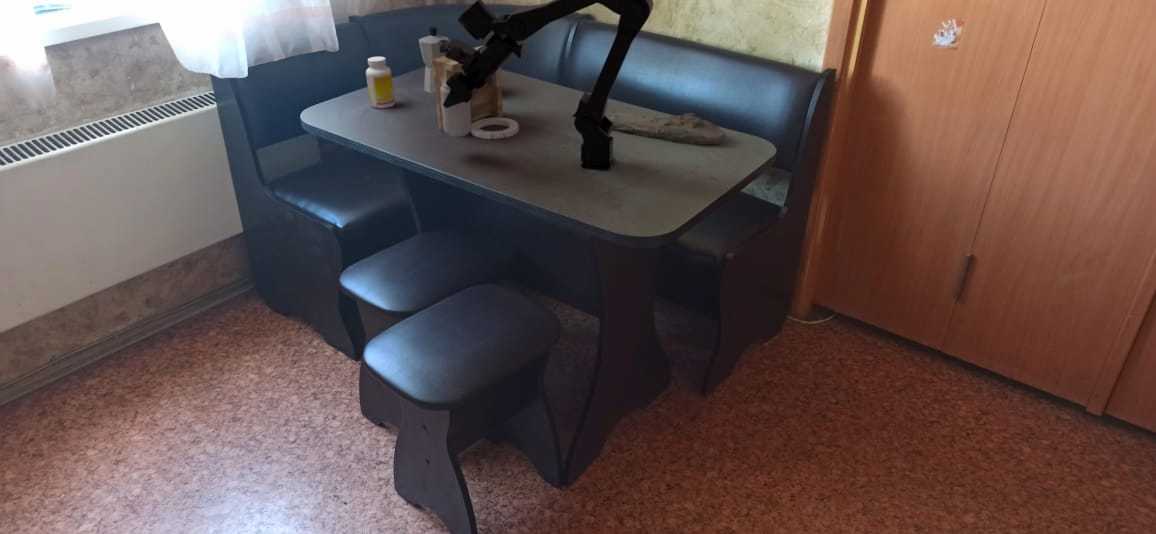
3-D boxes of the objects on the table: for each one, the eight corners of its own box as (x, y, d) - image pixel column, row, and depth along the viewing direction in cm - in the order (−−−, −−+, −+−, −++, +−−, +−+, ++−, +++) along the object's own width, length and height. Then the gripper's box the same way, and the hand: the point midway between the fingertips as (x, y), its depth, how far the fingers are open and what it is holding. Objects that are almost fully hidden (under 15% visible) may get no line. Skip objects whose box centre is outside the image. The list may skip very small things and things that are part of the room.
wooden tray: (509, 117, 205) (506, 49, 196) (458, 136, 194) (452, 65, 185) (490, 111, 210) (486, 44, 200) (439, 130, 198) (432, 59, 189)
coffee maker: (414, 88, 228) (406, 25, 219) (439, 81, 233) (433, 20, 224) (443, 100, 218) (436, 35, 209) (468, 93, 224) (463, 29, 214)
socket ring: (524, 124, 201) (524, 119, 200) (508, 140, 191) (508, 136, 191) (481, 120, 204) (481, 115, 203) (463, 136, 194) (462, 131, 193)
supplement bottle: (400, 103, 216) (394, 57, 209) (383, 110, 211) (376, 63, 205) (382, 99, 219) (376, 54, 212) (365, 106, 214) (358, 59, 208)
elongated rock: (603, 121, 207) (586, 135, 200) (602, 102, 205) (584, 115, 197) (730, 135, 192) (717, 151, 185) (731, 115, 189) (717, 130, 182)
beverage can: (467, 138, 179) (464, 88, 172) (440, 136, 179) (436, 86, 173) (474, 127, 184) (471, 78, 177) (448, 126, 185) (444, 76, 178)
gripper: (478, 18, 176) (437, 64, 184) (450, 38, 161) (407, 88, 168) (514, 54, 179) (472, 98, 186) (490, 78, 163) (445, 125, 171)
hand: (449, 102), depth 178 cm, fingers closed on beverage can, 6 cm apart
